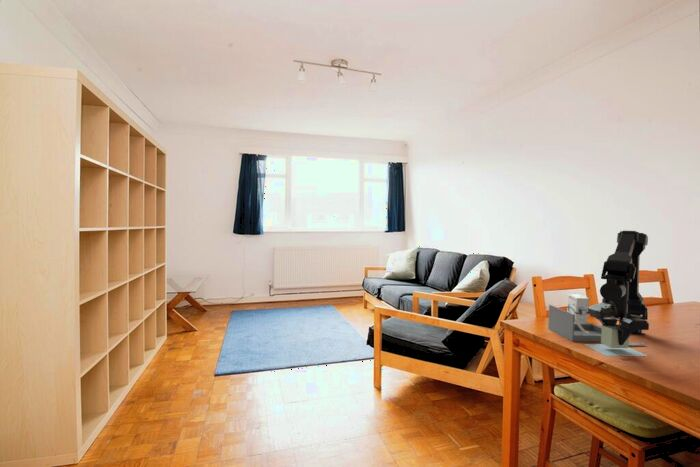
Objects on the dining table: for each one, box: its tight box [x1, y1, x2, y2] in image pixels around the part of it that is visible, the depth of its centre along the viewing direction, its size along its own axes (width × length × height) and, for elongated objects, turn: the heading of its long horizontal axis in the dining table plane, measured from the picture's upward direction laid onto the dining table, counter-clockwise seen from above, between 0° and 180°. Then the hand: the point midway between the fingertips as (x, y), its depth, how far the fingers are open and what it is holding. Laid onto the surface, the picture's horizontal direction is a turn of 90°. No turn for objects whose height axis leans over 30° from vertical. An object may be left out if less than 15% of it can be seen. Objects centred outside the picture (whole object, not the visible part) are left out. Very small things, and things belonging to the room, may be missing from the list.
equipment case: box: [547, 304, 602, 342], centre depth 129 cm, size 18×14×10 cm
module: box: [600, 325, 630, 348], centre depth 114 cm, size 6×4×6 cm
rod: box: [629, 341, 647, 347], centre depth 118 cm, size 8×1×1 cm, turn 91°
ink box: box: [566, 293, 590, 324], centre depth 145 cm, size 9×5×12 cm, turn 168°
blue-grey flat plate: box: [583, 343, 648, 357], centre depth 114 cm, size 14×10×1 cm
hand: (615, 342), depth 114 cm, fingers closed on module, 4 cm apart
